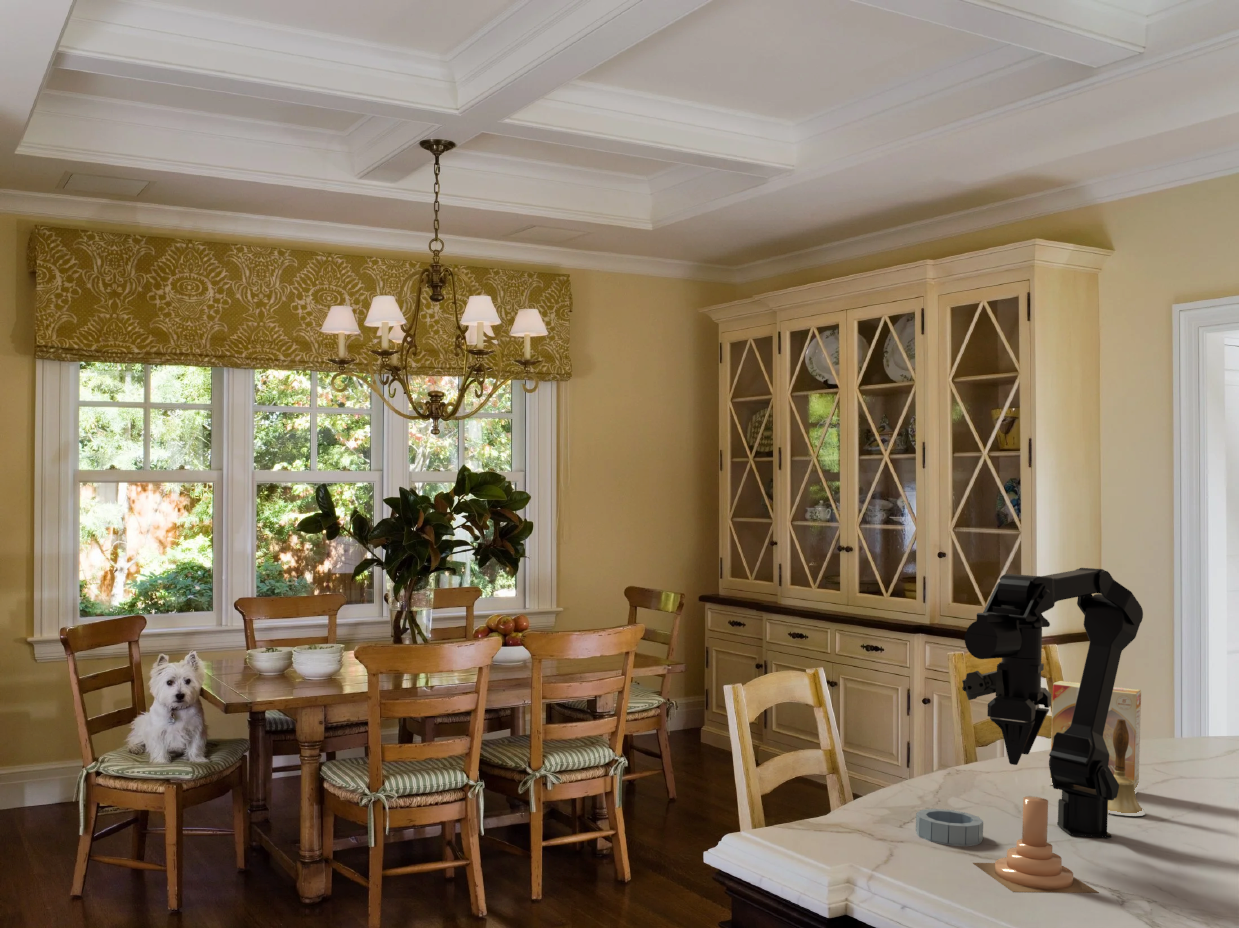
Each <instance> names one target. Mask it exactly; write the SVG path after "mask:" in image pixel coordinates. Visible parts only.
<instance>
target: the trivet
mask: <svg viewBox="0 0 1239 928" xmlns="http://www.w3.org/2000/svg"><path fill="white" fill-rule="evenodd" d="M972 864H973V865H974V866H976V867H977V868H978V869H980V870H981V871H983V873H985V874H987V875H988V876H990V877H991V878H992V879H994V880H995V881H997V882H998V883H1000V885H1002V886H1004V887H1005V888H1007V889H1008V890H1009V891H1011V892H1012V893H1047V894H1048V893H1054V894H1057V893H1059V894H1060V893H1061V894H1062V893H1064V894H1067V893H1068V894H1069V893H1072V894H1075V893H1076V894H1081V893H1082V894H1099V893H1100V892H1099V891H1097V890H1096V889H1094V888H1093V887H1091V886H1089V885H1087V884H1086V883H1085V882H1083V881H1081V880H1080V879H1078V878H1077V877H1075V876H1073V885H1072V886H1071V887H1069V888H1065V889H1038V888H1032V887H1026V886H1022V885H1018V884H1014V883H1011V882H1009V881H1006V880H1004V879H1002V878H1000V877H999V876H997V875H996V873H995V862H972Z"/></svg>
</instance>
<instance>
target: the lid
mask: <svg viewBox="0 0 1239 928" xmlns="http://www.w3.org/2000/svg"><path fill="white" fill-rule="evenodd" d="M1022 800H1023V801H1022V805H1023V806H1022V829H1021V831H1022V832H1021V834H1022V835H1021V836H1022V837H1021V839H1020V838H1019V839H1017V840H1016V847H1010V848H1008V849H1007V851H1006V857H1001V858H998V859H997V860H995V862H994V863H995V873H996V875H997V876H999V877H1000V878H1002V879H1004V880H1006V881H1009V882H1011V883H1014V884H1018V885H1022V886H1026V887H1032V888H1038V889H1065V888H1069V887H1071V886H1072V885H1073V877H1074V872H1073V871H1072V870H1071V869H1069V868H1068V867H1066V866H1065V865H1062V860H1063V859H1062V857H1061V856H1060V855H1059V854H1057V853H1056V852H1055V853H1054V852H1053V845H1052V844H1051V843H1049V842H1048V819H1049V816H1048V815H1049V800H1048V799H1047V798H1043V797H1040V796H1039V797H1038V796H1023V798H1022Z"/></svg>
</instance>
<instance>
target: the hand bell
mask: <svg viewBox="0 0 1239 928" xmlns="http://www.w3.org/2000/svg"><path fill="white" fill-rule="evenodd" d="M1128 744H1129V733H1128V729H1127V726H1126V722H1125V720H1123V719H1117V723H1116V726H1115V728H1114V731H1113V746H1114V749H1115V754H1116V759H1115V774H1114V777H1115V779H1116V780H1117V782H1118V784H1119V789H1118V794H1117V798H1114V800H1108V810H1110V811H1117V812H1121V813H1137V812H1139V811H1142V809H1143V807H1141V805H1140V803H1139V801H1138V799H1137V796H1136V795H1135V791H1134V783H1133V782H1132V781H1131V780H1129V779H1128V778H1127V777H1126V776H1125V755H1126V751H1127V748H1128Z"/></svg>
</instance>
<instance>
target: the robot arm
mask: <svg viewBox="0 0 1239 928" xmlns="http://www.w3.org/2000/svg"><path fill="white" fill-rule="evenodd" d="M1093 594H1094V595H1093ZM1074 598H1075V599H1076V598H1077V602H1076V604H1077V607H1078V608H1079V610H1080V611H1081V612H1082V614H1083V615H1084V616H1083V617H1084V619H1083V628H1084V630H1085V632H1086V635H1087V638H1088V640H1089V645H1088V649H1087V653H1086V658H1085V661H1084V666H1083V671H1082V674H1081V675H1082V676H1081V679H1080V680H1081V681H1080V682H1079V683H1080V688H1079V692H1078V696H1077V700H1076V705H1075V709H1074V713H1073V718H1072V722H1071V725H1070V727H1069V728H1068V729H1067V730H1066V731H1065V732H1064V733H1060V732H1057V733H1056V734H1055V736H1054V740H1053V746H1052V750H1051V749H1050V752H1049V754H1048V756H1049V760H1048V768H1049V773H1051V778H1052V783H1053V785H1052V789H1054V790H1059V791H1061V798H1059V799H1058V801H1057V802H1058V804H1057V805H1058V806H1057V807H1058V808H1057V822H1056V825H1057V826H1058V827H1059V828H1060V829H1061V830H1063V831H1064V832H1066V833H1067V834H1069V835H1070V836H1074V837H1075V836H1076V837H1077V836H1078V837H1088V838H1089V837H1092V838H1093V837H1094V838H1104V839H1105V838H1107V839H1111V838H1112V834H1111V833H1110V832H1108V815H1109V814H1108V800H1114V798H1117V794H1118V789H1119V784H1118V782H1117V780H1116V779H1115V777H1114V775H1113V774H1112V772H1111V770H1110V769H1109V767H1108V764H1109V752H1108V749H1107V747H1106V744H1105V741H1104V738H1103V732H1104V728H1105V723H1106V719H1107V714H1108V710H1109V705H1110V701H1111V696H1112V692H1113V687H1115V683H1116V678H1117V677H1116V676H1117V673H1118V669H1119V664H1120V660H1121V656H1122V652H1123V651H1124V650H1125V649H1126V648H1127V646H1129V644H1131V643H1132V642H1133V641H1134V640H1135V639H1136V637H1137V633H1138V631H1139V629H1140V625H1141V623H1142V621H1143V618H1144V611H1143V608H1142V606H1141V604H1140V603H1139V601H1138V600H1137V598H1136V596H1135V595H1134V594H1133V592H1132V591H1130V590H1129V589H1128V588H1126V587H1125V586H1124V585H1122V584H1121V583H1119V582H1118V581H1116V580H1115V579H1114V578H1113V576H1112V575H1111V574H1110V572H1109V571H1108V570H1105V569H1103V568H1093V567H1092V568H1091V567H1090V568H1089V567H1080V568H1077V569H1074V570H1069V571H1062V572H1057V573H1051V574H1047V575H1041V576H1039V575H1029V574H1028V575H1026V574H1018V573H1017V574H1016V573H1014V574H1013V573H1005V574H1003V575H1001V576H1000V578H999V581H998V583H997V584H996V586H995V587H994V589H993V591H992V593H991V596H990V597H989V599H988V602H987V604H986V606H985V608H984V610H983V611H982V612H977V613H976V620H975V621H973V622H972V623H971V624H970V625H968V627H967V629H966V632H965V634H964V645H965V647H966V650H967V651H968V653H969V654H970V655H971V656H973V658H976V659H978V660H989V659H990V660H991V659H992V660H993V659H1001V661H1000V662H999V663H998V664H997V665H996V670H994V671H989V672H985V673H981V672H980V671H979V670H975V671H972V672H968V673H966V676H965V678H964V679H962V680H961V682H962V686H961V687H962V688H961V689H962V691H963V692H965V694H966V697H967V700H968V701H972V700H976V699H977V698H978V697H979V698H980V697H983V696H986V695H992V694H995V697H994V698H993V699H992V700H990V701H989V702H988V703H987V717H989V719H990V721H991V722H993V723H994V724H995V725H996V726H998V728H1000V731H1001V733H1002V737H1003V741H1004V745H1005V751H1006V754H1007V759H1008V763H1009V764H1010V765H1014V766H1017V765H1018V764H1019V762H1020V760H1021V757H1022V755H1030V752H1031V750H1032V748H1033V746H1034V743H1035V741H1036V739H1037V736H1038V734H1039V732H1040V730H1041V728H1042V726H1043V723H1044V721H1045V719H1046V717H1047V716H1048V713H1049V711H1050V709H1049V708H1050V707H1052V693H1051V692H1050V691H1049V690H1048V689H1047V688H1046V687H1042V672H1043V671H1044V668H1045V667H1044V666H1045V664H1044V663H1042V652H1043V651H1042V648H1043V647H1042V645H1043V644H1042V643H1043V628H1049V627H1050V626H1051V623H1050V621H1049V620H1048V619H1047V618H1046V617H1045V616H1043V613H1045V612H1048V611H1049V610H1051V609H1053V608H1054V607H1055V603H1057V602H1060V601H1065V600H1068V599H1074ZM1040 705H1041V706H1044V708H1043V707H1040Z"/></svg>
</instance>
